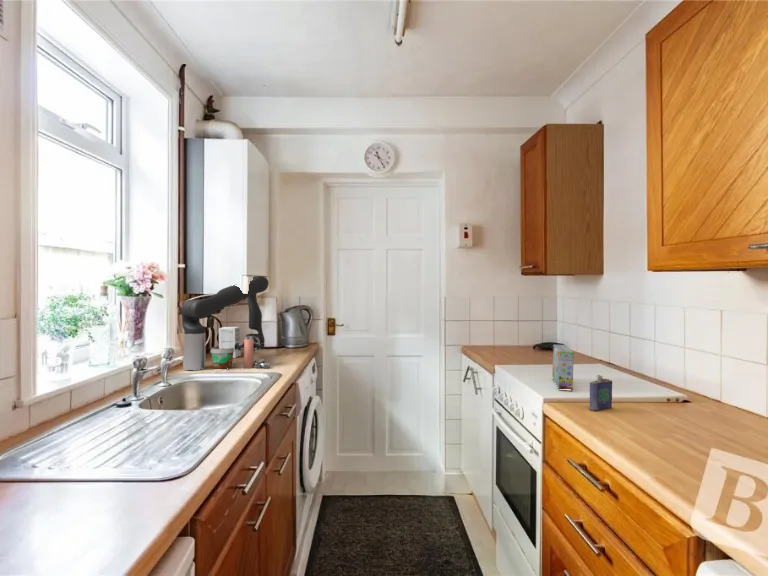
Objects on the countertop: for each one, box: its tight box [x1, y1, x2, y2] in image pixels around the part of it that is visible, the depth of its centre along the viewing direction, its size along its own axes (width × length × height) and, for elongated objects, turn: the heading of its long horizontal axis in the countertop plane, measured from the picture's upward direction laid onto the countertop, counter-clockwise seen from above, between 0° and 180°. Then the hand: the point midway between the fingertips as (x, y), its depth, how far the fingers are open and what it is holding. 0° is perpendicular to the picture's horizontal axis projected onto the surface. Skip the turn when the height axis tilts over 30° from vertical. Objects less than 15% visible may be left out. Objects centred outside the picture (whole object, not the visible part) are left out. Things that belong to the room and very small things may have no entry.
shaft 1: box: [253, 358, 266, 367], centre depth 207 cm, size 7×3×3 cm, turn 156°
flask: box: [589, 374, 613, 412], centre depth 131 cm, size 9×3×11 cm, turn 115°
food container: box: [209, 346, 234, 370], centre depth 198 cm, size 12×6×10 cm, turn 73°
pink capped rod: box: [243, 336, 255, 369], centre depth 201 cm, size 4×4×15 cm
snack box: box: [552, 344, 575, 390], centre depth 164 cm, size 21×6×15 cm, turn 164°
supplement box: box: [218, 326, 242, 359], centre depth 233 cm, size 10×9×17 cm
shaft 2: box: [254, 362, 271, 370], centre depth 200 cm, size 7×3×3 cm, turn 81°
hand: (248, 347), depth 199 cm, fingers open, 8 cm apart
